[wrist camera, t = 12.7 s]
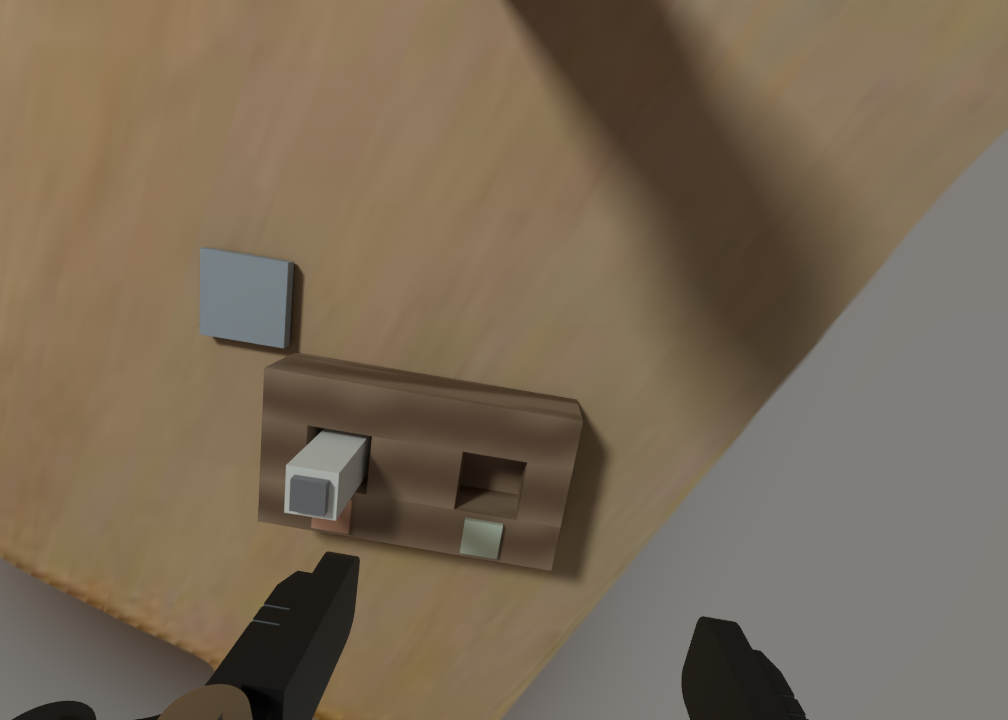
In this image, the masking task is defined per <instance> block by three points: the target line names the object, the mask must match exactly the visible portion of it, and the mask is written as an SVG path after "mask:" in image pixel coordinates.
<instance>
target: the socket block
mask: <svg viewBox="0 0 1008 720" xmlns="http://www.w3.org/2000/svg"><path fill="white" fill-rule="evenodd" d="M582 425H583V419H582V415H581V412H580V409H579V405H578V402H577V400H575V399H569V398H563V397H557V396H551V395H545V394H539V393H533V392H527V391H521V390H515V389H509V388H503V387H497V386H491V385H485V384H480V383H474V382H468V381H462V380H456V379H450V378H444V377H438V376H432V375H426V374H420V373H414V372H408V371H402V370H396V369H390V368H384V367H378V366H372V365H366V364H360V363H354V362H348V361H343V360H337V359H331V358H325V357H319V356H313V355H307V354H301V353H293V354H291V355H289V356H287V357H285V358H283V359H281V360H279V361H277V362H275V363H273V364H271V365H269V366H267V367H265V368H264V391H263V415H262V439H261V462H260V486H259V509H258V521H260V522H266V523H272V524H278V525H284V526H290V527H295V528H301V529H307V530H313V531H319V532H325V533H331V534H337V535H342V536H348V537H354V538H360V539H366V540H372V541H378V542H384V543H390V544H395V545H401V546H407V547H413V548H419V549H425V550H431V551H437V552H442V553H448V554H454V555H460V556H466V557H472V558H478V559H484V560H490V561H495V562H501V563H507V564H513V565H519V566H525V567H531V568H537V569H542V570H548V571H551V570H552V566H553V561H554V556H555V552H556V547H557V542H558V538H559V533H560V528H561V524H562V519H563V514H564V509H565V505H566V500H567V495H568V491H569V486H570V481H571V477H572V472H573V467H574V463H575V458H576V453H577V449H578V444H579V439H580V435H581V430H582ZM325 428H326V429H332V430H338V431H344V432H350V433H356V434H362V435H368V436H372V442H371V452H370V462H369V472H368V474H367V475H366V477H365V478H364V480H363V481H362V483H361V484H360V485H359V487H358V488H357V490H356V491H355V493H354V494H353V496H352V497H351V499H350V500H349V502H348V503H347V505H346V506H345V508H344V509H343V511H342V512H341V514H340V515H339V517H338V518H337V520H336V521H335V520H328V519H322V518H316V517H309V516H303V515H296V514H290V513H284V504H285V479H286V465H287V464H288V463H289V462H290V461H291V460H292V459H293V458H294V457H295V456H296V455H297V454H298V453H299V452H300V451H301V450H302V449H303V448H305V447H306V446H307V445H308V444H309V443H310V442H311V441H312V440H313V439H314V438H315V437H316V436H317V435H318V434H319V433H320V432H321V431H322V430H324V429H325Z"/></svg>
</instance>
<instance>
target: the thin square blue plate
mask: <svg viewBox="0 0 1008 720" xmlns="http://www.w3.org/2000/svg"><path fill="white" fill-rule="evenodd" d="M293 272H294V262H292V261H286V260H280V259H274V258H268V257H262V256H256V255H250V254H244V253H238V252H232V251H226V250H220V249H214V248H200V334H201V335H207V336H213V337H219V338H225V339H231V340H237V341H243V342H249V343H254V344H260V345H266V346H272V347H278V348H286V347H288V346H289V345H290V326H291V308H292V290H293Z"/></svg>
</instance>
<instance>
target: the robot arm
mask: <svg viewBox="0 0 1008 720" xmlns="http://www.w3.org/2000/svg"><path fill="white" fill-rule="evenodd" d="M359 564H360V560H359V557H358V556H352V555H346V554H340V553H334V552H326V553H325V554H324V556H323V557H322V559H321V560H320V562H319V563H318V565H317V566H316V568H315V570H314V571H313V573H308V572H302V571H296V572H295V573H294V574H292V575H291V576H289V577H288V578H286V579H285V580H284V581H282V582H281V583H279V584H278V585H277V586H276V587H275V589H274V590H273V592H272V593H271V594H270V596H269V597H268V599H267V600H266V601H265V603H264V606H263V607H261V608H260V610H259V611H258V613H257V614H256V615H255V617H254V618H253V621H252V622H250V624H249V625H248V626H247V628H246V629H245V631H244V632H243V633H242V635H241V636H240V638H239V639H238V640H237V642H236V643H235V645H234V646H233V647H232V649H231V650H230V652H229V653H228V654H227V656H226V657H225V659H224V660H223V661H222V663H221V664H220V666H219V667H218V668H217V670H216V671H215V672H214V674H213V675H212V677H211V678H210V680H209V681H208V682H207V683H206V685H205V686H203V687H199V688H197V689H194V690H192V691H190V692H188V693H186V694H184V695H182V696H181V697H179V698H178V699H176V700H175V701H174V702H173V703H171V704H170V705H169V706H168V707H167V708H166V709H165V710H164V711H163V712H162V714H160V715H157V716H153V717H149V718H143V719H136V720H312V718H313V716H314V713H315V711H316V709H317V707H318V704H319V702H320V700H321V698H322V695H323V693H324V691H325V689H326V686H327V684H328V682H329V680H330V678H331V675H332V673H333V671H334V669H335V666H336V664H337V662H338V660H339V657H340V655H341V653H342V651H343V648H344V646H345V644H346V642H347V639H348V636H349V633H350V630H351V627H352V623H353V618H354V613H355V604H356V594H357V584H358V574H359ZM682 694H683V699H684V702H685V705H686V708H687V711H688V714H689V717H690V720H808V719H806V717H805V713H804V711H803V709H802V707H801V706H800V704H799V702H798V700H796V699H794V694H793V692H792V690H791V688H790V687H789V685H788V683H787V682H786V680H785V678H784V677H783V675H782V673H781V672H780V671H779V669H778V668H776V666H775V665H773V663H772V662H771V661H770V660H769V659H768V658H767V657H766V656H765V655H764V654H763V653H762V652H761V651H758V650H753V649H752V648H751V646H750V644H749V642H748V641H747V639H746V637H745V635H744V633H743V631H742V629H741V628H740V626H739V625H738V624H737V623H736V622H733V621H727V620H721V619H715V618H710V617H704V616H703V617H700V618H699V620H698V622H697V624H696V628H695V631H694V634H693V637H692V640H691V644H690V647H689V650H688V653H687V657H686V660H685V663H684V666H683V671H682ZM12 720H96V716H95V713H94V711H93V710H92V708H90V707H89V706H88V705H86V704H84V703H82V702H76V701H59V702H54V703H49V704H45V705H42V706H39V707H36V708H34V709H32V710H29V711H27V712H25V713H23V714H21V715H19V716H17V717H16V718H14V719H12Z"/></svg>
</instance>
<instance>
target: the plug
mask: <svg viewBox="0 0 1008 720" xmlns="http://www.w3.org/2000/svg"><path fill="white" fill-rule="evenodd" d="M371 442H372V436H368V435H362V434H356V433H350V432H344V431H338V430H332V429H326V428H325V429H324V430H322V431H321V432H320V433H319V434H318V435H317V436H316V437H315V438H314V439H313V440H312V441H311V442H310V443H309V444H308V445H307V446H306V447H305V448H303V449H302V450H301V451H300V452H299V453H298V454H297V455H296V456H295V457H294V458H293V459H292V460H291V461H290V462H289V463H288V464H287V465H286V479H285V504H284V513H290V514H296V515H303V516H309V517H316V518H322V519H328V520H335V521H336V520H337V518H338V517H339V515H340V514H341V512H342V511H343V509H344V508H345V506H346V505H347V503H348V502H349V500H350V499H351V497H352V496H353V494H354V493H355V491H356V490H357V488H358V487H359V485H360V484H361V483H362V481H363V480H364V478H365V477H366V475H367V474H368V472H369V462H370V452H371Z"/></svg>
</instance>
